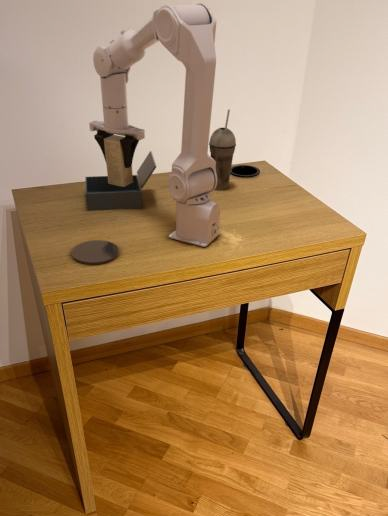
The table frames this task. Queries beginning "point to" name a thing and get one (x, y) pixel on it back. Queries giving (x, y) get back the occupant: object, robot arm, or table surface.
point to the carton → (111, 194)
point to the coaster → (95, 252)
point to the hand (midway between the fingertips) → (119, 164)
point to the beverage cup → (222, 153)
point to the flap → (146, 169)
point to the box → (116, 162)
